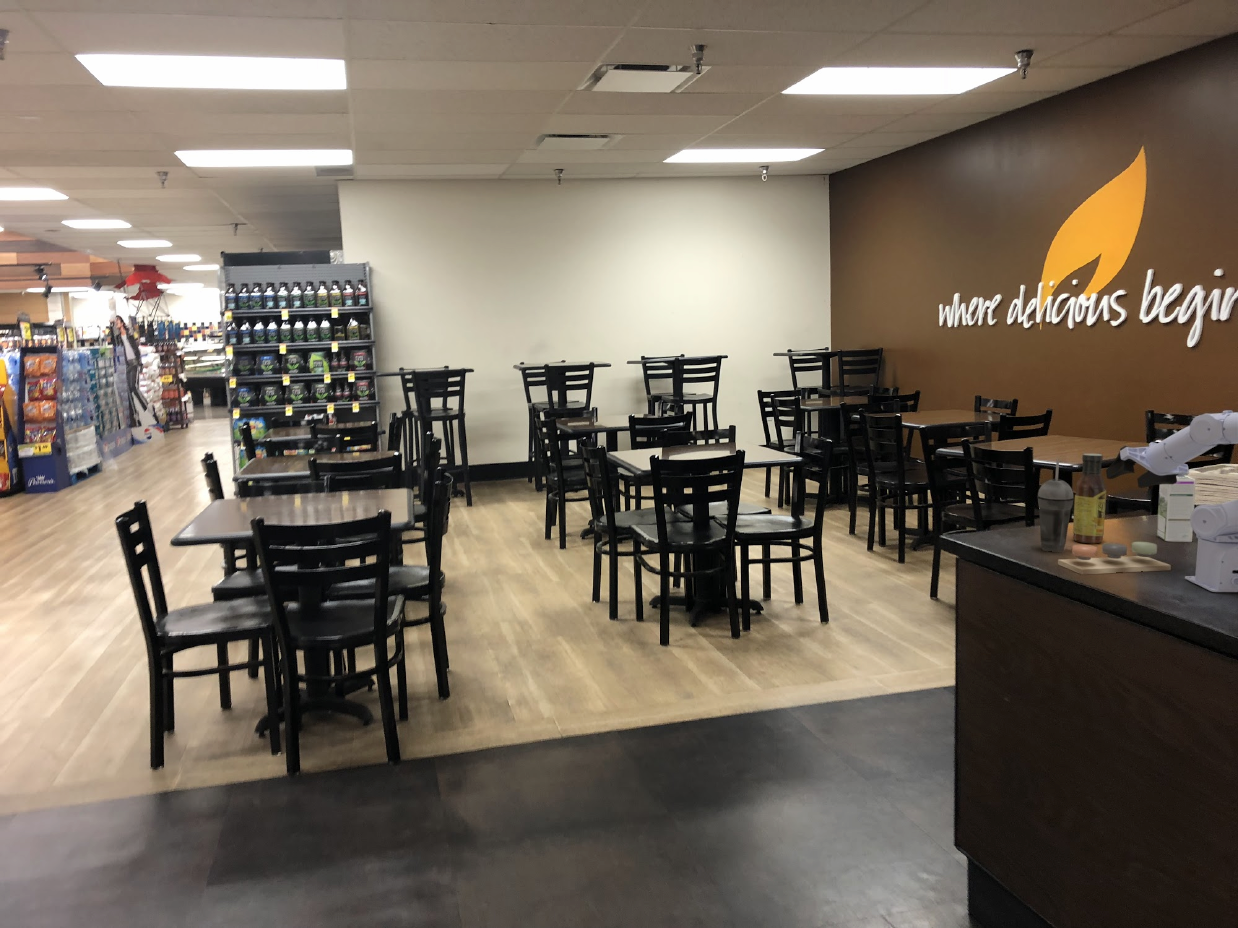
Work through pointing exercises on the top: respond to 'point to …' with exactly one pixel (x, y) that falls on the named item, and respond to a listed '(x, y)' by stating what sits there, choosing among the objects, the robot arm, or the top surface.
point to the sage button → (1144, 548)
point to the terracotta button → (1084, 551)
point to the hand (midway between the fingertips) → (1123, 479)
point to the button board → (1114, 565)
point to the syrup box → (1176, 510)
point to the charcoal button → (1114, 550)
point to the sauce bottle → (1090, 502)
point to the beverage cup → (1054, 512)
